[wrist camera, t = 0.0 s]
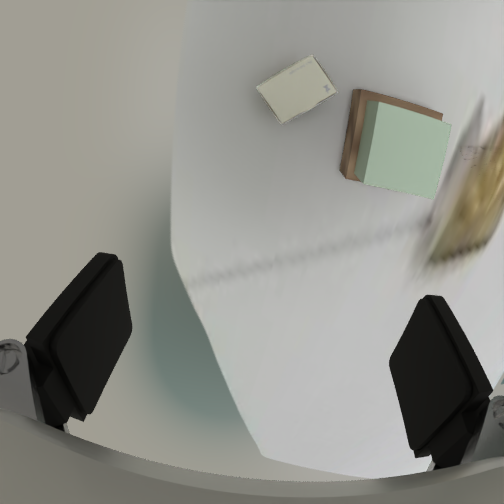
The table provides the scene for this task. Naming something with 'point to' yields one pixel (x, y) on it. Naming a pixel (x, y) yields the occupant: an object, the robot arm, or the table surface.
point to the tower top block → (401, 150)
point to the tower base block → (358, 119)
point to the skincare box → (297, 89)
